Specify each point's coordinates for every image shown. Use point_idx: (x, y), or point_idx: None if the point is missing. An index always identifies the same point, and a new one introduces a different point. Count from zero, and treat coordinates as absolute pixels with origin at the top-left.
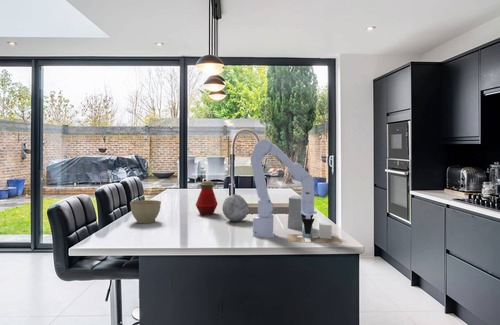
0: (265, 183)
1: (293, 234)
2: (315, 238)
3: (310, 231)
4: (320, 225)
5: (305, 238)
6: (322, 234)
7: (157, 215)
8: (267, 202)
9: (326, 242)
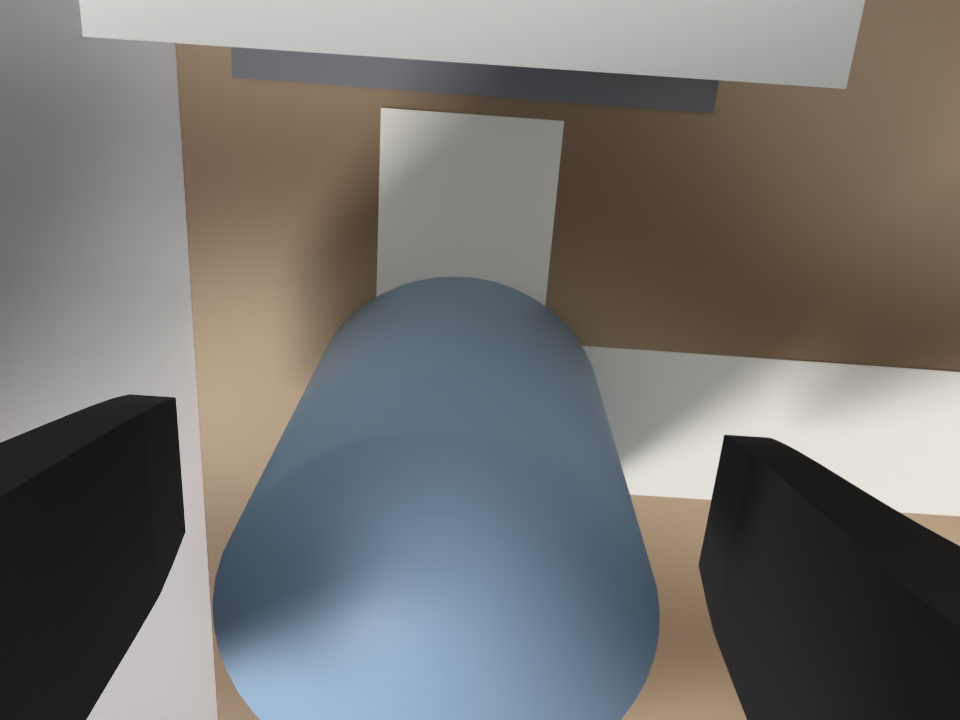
0: None
1: (243, 704)
2: (662, 204)
3: (826, 473)
4: (834, 58)
5: (667, 480)
6: None
7: None
8: None
9: None
